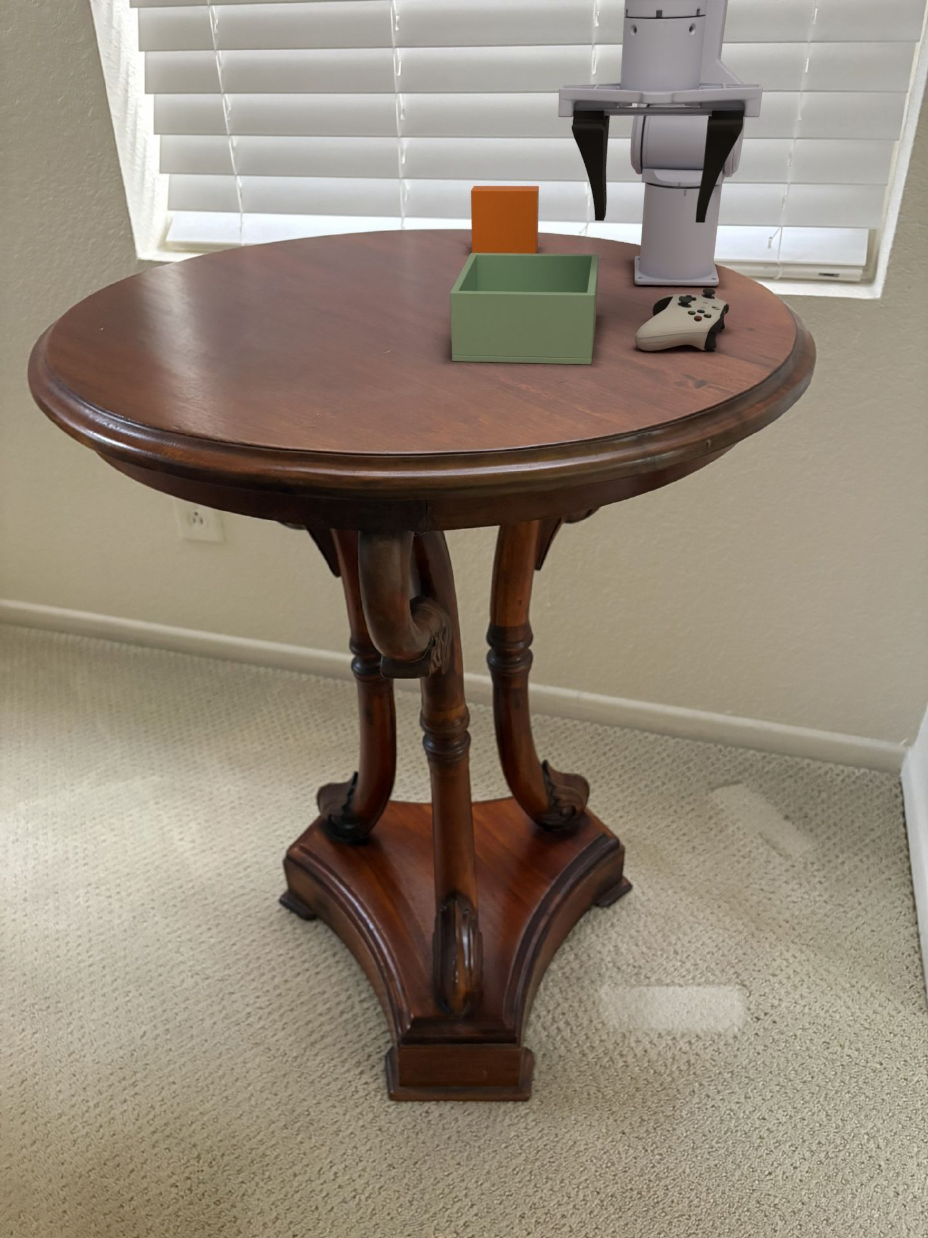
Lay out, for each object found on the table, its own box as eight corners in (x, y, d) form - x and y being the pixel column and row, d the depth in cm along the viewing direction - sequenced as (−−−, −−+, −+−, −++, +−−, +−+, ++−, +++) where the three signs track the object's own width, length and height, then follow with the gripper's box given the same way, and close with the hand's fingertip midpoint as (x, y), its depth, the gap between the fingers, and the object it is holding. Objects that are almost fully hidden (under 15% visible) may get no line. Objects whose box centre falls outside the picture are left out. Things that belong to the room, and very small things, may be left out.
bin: (472, 315, 91) (470, 252, 88) (596, 317, 90) (599, 253, 87) (452, 361, 81) (449, 292, 78) (591, 364, 80) (594, 294, 77)
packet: (474, 248, 111) (473, 185, 108) (537, 248, 111) (538, 185, 107) (471, 253, 109) (470, 190, 106) (536, 254, 109) (537, 190, 105)
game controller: (649, 306, 89) (703, 259, 85) (688, 351, 90) (743, 308, 86) (627, 340, 81) (685, 291, 78) (669, 390, 82) (729, 343, 79)
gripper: (555, 21, 69) (550, 229, 76) (774, 17, 66) (747, 233, 74) (566, 14, 75) (561, 208, 82) (769, 11, 72) (744, 211, 80)
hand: (649, 218), depth 78 cm, fingers open, 7 cm apart
